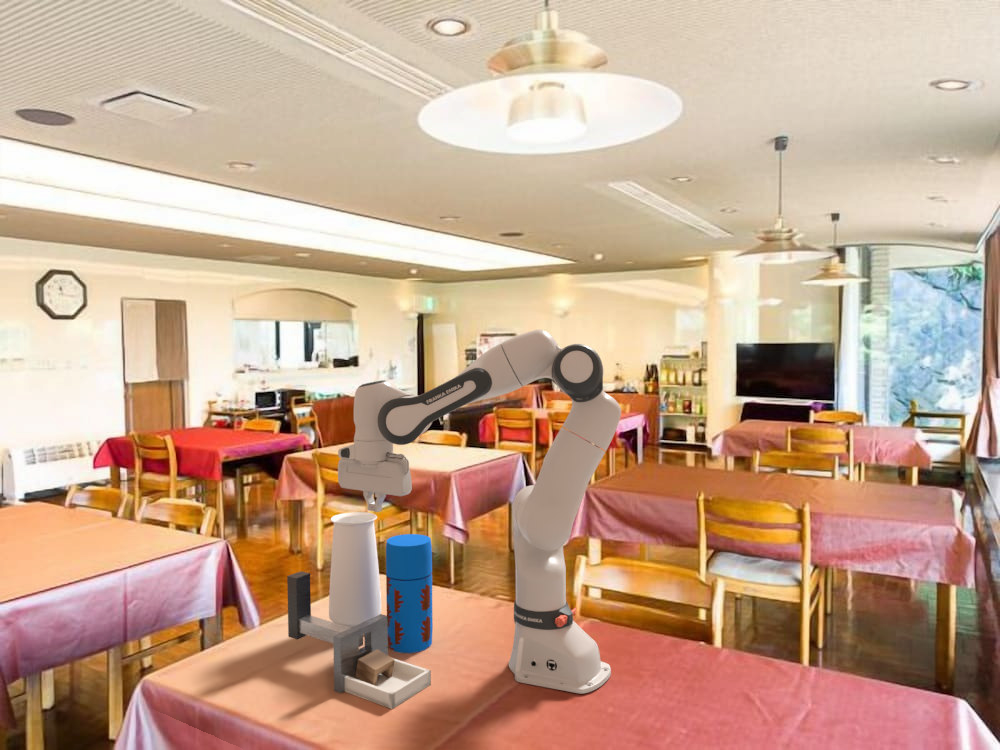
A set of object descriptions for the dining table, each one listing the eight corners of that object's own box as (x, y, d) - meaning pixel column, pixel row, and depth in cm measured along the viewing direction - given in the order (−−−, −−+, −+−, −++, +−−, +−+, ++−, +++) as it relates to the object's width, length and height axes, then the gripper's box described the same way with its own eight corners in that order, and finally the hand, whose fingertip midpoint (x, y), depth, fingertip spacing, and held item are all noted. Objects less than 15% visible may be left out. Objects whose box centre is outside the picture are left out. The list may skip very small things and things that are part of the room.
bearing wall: (388, 667, 156) (387, 615, 155) (341, 693, 144) (340, 638, 144) (381, 664, 157) (380, 614, 156) (334, 690, 145) (333, 636, 145)
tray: (430, 684, 148) (430, 670, 148) (392, 709, 138) (391, 694, 138) (384, 668, 155) (384, 655, 155) (344, 691, 145) (344, 677, 145)
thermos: (427, 631, 175) (426, 532, 174) (437, 649, 165) (436, 543, 163) (383, 637, 171) (382, 536, 170) (390, 656, 161) (389, 548, 160)
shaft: (364, 651, 152) (364, 587, 152) (351, 657, 149) (350, 592, 148) (302, 630, 163) (301, 571, 163) (288, 636, 160) (287, 576, 160)
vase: (364, 613, 187) (362, 508, 186) (391, 627, 177) (390, 517, 176) (319, 626, 178) (317, 517, 177) (346, 642, 169) (344, 526, 167)
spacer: (391, 676, 150) (394, 659, 149) (372, 687, 145) (375, 670, 144) (374, 666, 152) (377, 649, 152) (355, 676, 147) (358, 659, 147)
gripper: (417, 452, 159) (418, 513, 160) (352, 446, 170) (353, 503, 171) (398, 456, 154) (399, 519, 154) (332, 449, 165) (334, 508, 166)
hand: (374, 510), depth 163 cm, fingers closed
